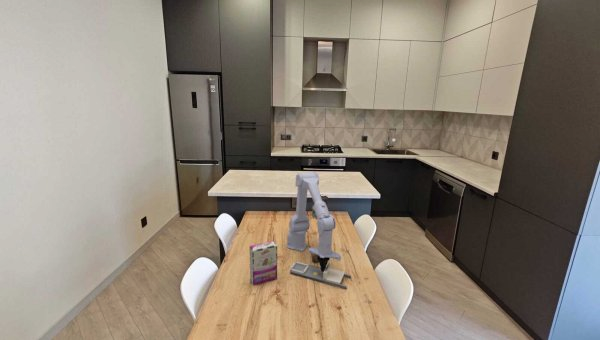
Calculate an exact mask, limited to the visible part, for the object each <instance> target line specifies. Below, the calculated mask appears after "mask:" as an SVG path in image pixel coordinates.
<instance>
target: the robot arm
mask: <svg viewBox="0 0 600 340" xmlns="http://www.w3.org/2000/svg"><path fill="white" fill-rule="evenodd" d="M319 185H320V177H319V174H318V173H317V172H316V171H314V172H303V173H301V172H300V173H297V174H296V175H295V187H297V194H296V207H295V208H296V209H295V213H294V214H293V215H292V216H291V217H290V219H289V224H288V227H289V230H288V232H287V235H286V238H287V239H286V240H287V241H286V248H288V249H290V250H291V249H292V250H296V251H299V252H303V251H304V250H305V249H306V248H307V247H308V245H309V244H308V243H306V238H307V237H306V235H307V234H306V233H307V232H308V231H309V229H310V226H311V224H310V218H309V216H308V215H307V214H306V211H307V199H308V192H309V195H310V196H311V198H312V202H313V201H314V203H315V204H314V206H313V205H312V209H313V208H314V210H315V213H316V216H317V219H316V220H317V221H316V224H317V225H316V226H317V232H318V244H317V246H318V247H309V248H308V251H307V253H308V254H311V255H312V254H316V255H318V257H317V260H318V264H319V267H320V268H321V271H322V272H324V270H325V268H326V267H327V265H328V263H329V261H330V259H334V260H337V262H340V261H341V258H342V255H341V254H339V253H336V252H334V251H332V242H333V230H334V229H336V225H337V224H336V223H337V222H336V220H335V217H334V216H333V215H332V214H331V213H330V212H329V209H328V205H327V206H326V203H325V202H323V201H322V199H321V195H322V194H321V193H320V189H319Z"/></svg>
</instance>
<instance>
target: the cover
mask: <svg viewBox="0 0 600 340" xmlns="http://www.w3.org/2000/svg"><path fill="white" fill-rule="evenodd" d="M344 274H346V273H345V272H344V271H341V270H338V269H334V268H332V262H328V263H327V265H326V268H325V270H324V272H323V280H324V281H328V282H332V283H335V284H339V285H341V283H342V281H343V278H344V277H343V276H344Z"/></svg>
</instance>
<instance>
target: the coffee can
mask: <svg viewBox="0 0 600 340" xmlns="http://www.w3.org/2000/svg"><path fill="white" fill-rule="evenodd" d="M321 199H322V201H323V202H325V203H326V206H327V207H328V203H329V202H328V201H329V197H328V196H327V195H325V196H321ZM314 204H315V203H314V201H313V200H312V211H311V217H312V216H313V217H314V218H313V217H312V218H313V219H315V218H317V216H316V213H315V210H314V208H313V206H314Z"/></svg>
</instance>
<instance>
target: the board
mask: <svg viewBox="0 0 600 340" xmlns="http://www.w3.org/2000/svg"><path fill="white" fill-rule="evenodd" d="M289 274H290V275H292V276H296V277H300V278H304V279H307V280H311V281H315V282H318V283H322V284H325V285H329V286H333V287H336V288H339V289H344V290H347V288H348V286H347V285H344V284H340V285H339V284H335V283H332V282H328V281H324V280H323V272H322V271H321V267H320V266H317V265H316V266H315V265H312V264H309V263H304V262H301V261H295V262H293V264H292V265H291V266H290V268H289ZM343 278H347V279H352V275H350V274H347V273H345V274H344V276H343Z"/></svg>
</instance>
